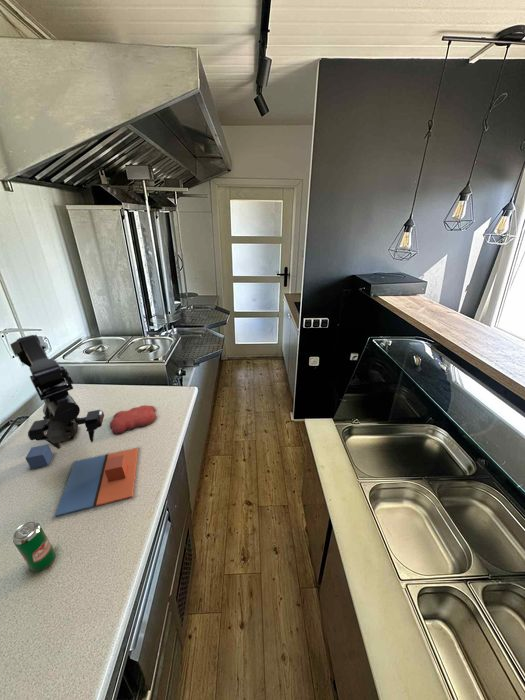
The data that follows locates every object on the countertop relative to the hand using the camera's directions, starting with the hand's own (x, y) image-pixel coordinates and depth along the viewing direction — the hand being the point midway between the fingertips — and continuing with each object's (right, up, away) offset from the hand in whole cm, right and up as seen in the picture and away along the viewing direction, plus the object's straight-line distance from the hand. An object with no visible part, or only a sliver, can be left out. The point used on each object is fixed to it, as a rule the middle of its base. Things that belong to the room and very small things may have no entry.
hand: (76, 444), depth 90 cm
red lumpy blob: (+6, +1, +27) cm, 28 cm away
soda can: (+5, -22, -20) cm, 30 cm away
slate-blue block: (-17, -8, +8) cm, 20 cm away
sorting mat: (+8, -11, +1) cm, 14 cm away
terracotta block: (+12, -10, +2) cm, 16 cm away
